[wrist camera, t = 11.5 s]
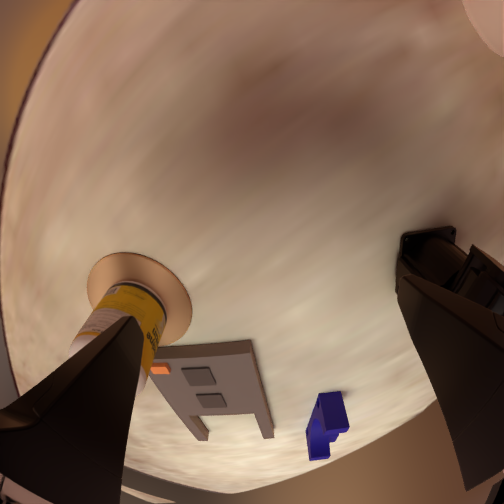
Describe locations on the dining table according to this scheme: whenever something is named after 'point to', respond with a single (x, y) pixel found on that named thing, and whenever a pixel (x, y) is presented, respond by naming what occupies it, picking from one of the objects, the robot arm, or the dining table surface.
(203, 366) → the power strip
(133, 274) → the cork coaster
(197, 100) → the dining table surface
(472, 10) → the cylinder with rectangular tab
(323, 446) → the cable clip
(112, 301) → the pill bottle
